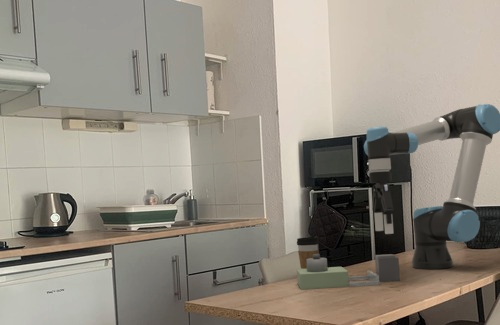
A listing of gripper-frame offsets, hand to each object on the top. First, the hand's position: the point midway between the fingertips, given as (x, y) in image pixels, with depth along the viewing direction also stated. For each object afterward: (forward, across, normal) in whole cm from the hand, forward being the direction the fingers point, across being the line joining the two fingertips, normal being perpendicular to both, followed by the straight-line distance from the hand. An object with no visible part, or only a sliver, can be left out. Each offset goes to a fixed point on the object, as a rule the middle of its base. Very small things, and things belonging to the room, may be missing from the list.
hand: (384, 232), depth 195 cm
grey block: (+17, 0, 0) cm, 17 cm away
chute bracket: (+17, +1, -10) cm, 20 cm away
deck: (+17, +1, -23) cm, 28 cm away
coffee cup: (+17, -18, -25) cm, 35 cm away
